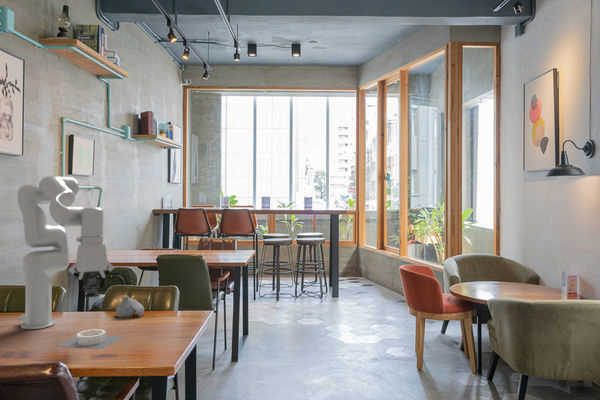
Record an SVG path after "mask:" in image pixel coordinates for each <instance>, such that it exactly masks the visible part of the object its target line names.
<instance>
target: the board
mask: <svg viewBox="0 0 600 400" xmlns="http://www.w3.org/2000/svg"><path fill="white" fill-rule="evenodd" d="M123 338H124V336H115V335H106V340H105V341H103V342H101V343H100V344H94V345H78V343H77V335H76V336H75V337H71V338H70V339H67V340H65V341H63V342H61V343H58V344H57V345H56V347H70V348H80V349H96V350H102V349H105V348H107V347H108V346H110V345H112V344H113V343H116V342H118V341H120V340H122V339H123Z"/></svg>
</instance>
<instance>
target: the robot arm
mask: <svg viewBox="0 0 600 400" xmlns="http://www.w3.org/2000/svg"><path fill="white" fill-rule="evenodd" d="M79 190H80V189H79V182H78V180H76V178H74V177H72V176H66V175H65V176H62V175H60V176H59V175H47V176H45V177H42V178H41V179H40V180H39V182H38V183H28V184H23V185H21V186H20V187H19V188H18V191H17V195H16V196H17V197H16V199H17V205H18V208H19V210H20V212H21V215H22V219H23V221H22V222H23V223H22V224H23V231H24V232H23V233H24V241H25V244H26V246H27V247H28V248H31V249H36V248H37V249H41V248H52V249H46V250H45V249H43V250H42V249H41V250H35V251H30V252H28V253H27V254H25V255H24V256H23V259H22V265H23V272H24V279H25V308H24V309H25V310H24V312H25V314H24V313H23V314H20V316H19V317H18V321H22V323H21V324H20V328H21V329H23V330H39V329H40V330H41V329H47V328H49V327H52V326H54V325H56V319H53V318H52V299H53V297H52V293H53V291H52V289H53V288H52V286H53V285H52V281H51V279H50V278H49V277H48V275H47V273H53V272H61V271H65V270H67V268H68V267H69V265H70V253H69V252H70V251H69V250H70V249H69V242H68V241H69V240H68V233H67V231H66V229H65V228H67V227H69V228H70V227H71V228H72V227H80V237H76V239H75V240H76V242H77V243H80V244H78V246H77V253H76V262H74V263H73V265H72V266H70V267H69V269H68V272H69V273H70V274H71V275H73V276H74V277H75V278H76V279H78V289H80V291H81V292H82V291H84V288H83V286H84V278H83V276H84V274H85V273H88V272H96V273H97V272H99V274H100V277H99V285H100V287H99V290H103V287H105V279H106V277H107V276H108V275H109V274H110V273H111V272H112V271H113V270H114V269H115V266H114V265H113V264H112V263H111V262H110V261H108V252H107V245H106V244H105V243H104V210H103V208H101V207H99V206H98V207H95V206H86V205H85V206H83V205H82V206H80V205H79V206H74V205H73V204H74V203H75V200H76V195H78V192H79ZM38 204H39V205H41V204H42V205H45V204H46V205H49V207H48V208H49V209H48V210H49V214H50V216H51V218H52V219H53V221H54V222H56V224H48V222H47V214H46V213H45V211H44V209H42V207H40V206H39V205H38ZM72 205H73V206H72ZM64 227H65V228H64ZM75 269H76V270H77V271H75Z"/></svg>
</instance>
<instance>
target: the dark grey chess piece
mask: <svg viewBox="0 0 600 400" xmlns="http://www.w3.org/2000/svg"><path fill="white" fill-rule="evenodd" d="M97 276H98V275H97V271H96V272H87V275H86V278H87V279H86V285H83V291H84V292H85V293H86V294H84V295H83V297H84V298H96V297H99V296H100V294H99V293H98V292H99V290H100V284H98V283H97Z"/></svg>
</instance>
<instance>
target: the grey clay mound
mask: <svg viewBox="0 0 600 400" xmlns="http://www.w3.org/2000/svg"><path fill="white" fill-rule="evenodd" d="M144 312H145V307H144V306H143V305H142V304H141V303H140V302H139V301H137V300H136V299H133V298H130V296H129V295H125V296H122V301H121V302H120V303H119V306H118V307H117V308H116V309H115V315H116V317H117V318H130V317H133V316H134V315H135V314H137V316H138V317H139V318H141V317H142V316H143V314H144Z"/></svg>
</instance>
